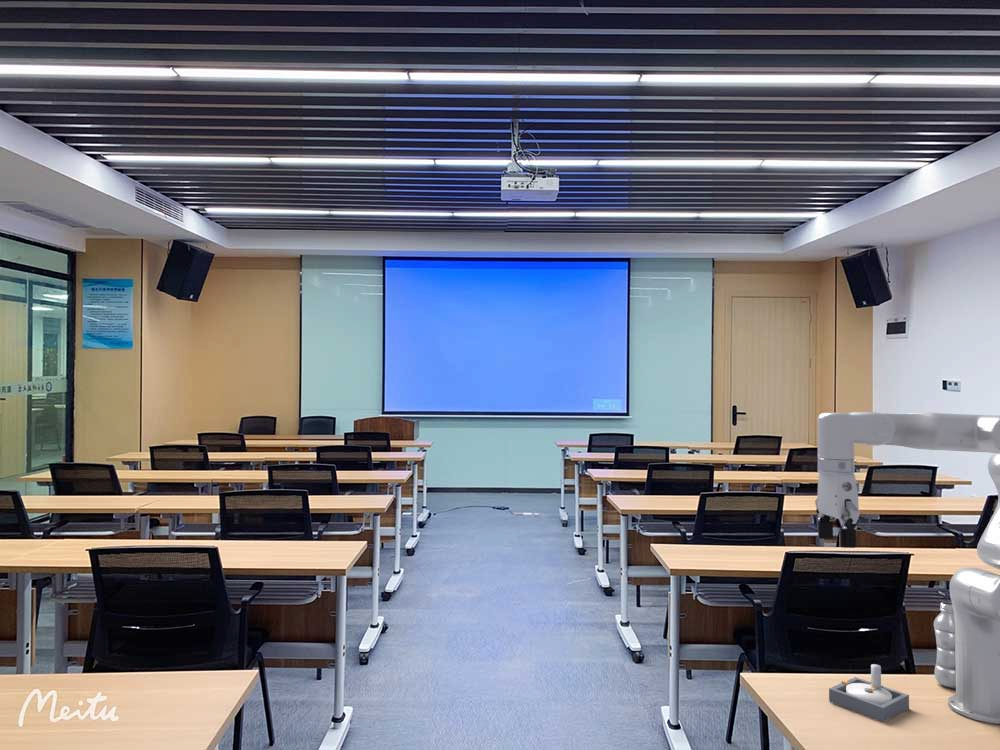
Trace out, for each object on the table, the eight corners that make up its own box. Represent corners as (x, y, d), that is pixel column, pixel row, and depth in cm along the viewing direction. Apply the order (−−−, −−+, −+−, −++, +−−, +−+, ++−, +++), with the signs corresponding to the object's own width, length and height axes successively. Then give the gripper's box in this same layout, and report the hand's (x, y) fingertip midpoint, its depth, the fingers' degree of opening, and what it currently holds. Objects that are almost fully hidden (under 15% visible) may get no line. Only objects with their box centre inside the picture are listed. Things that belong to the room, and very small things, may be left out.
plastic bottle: (972, 693, 162) (971, 608, 162) (941, 690, 163) (939, 606, 164) (959, 682, 168) (958, 601, 169) (929, 679, 169) (928, 599, 170)
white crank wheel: (879, 711, 148) (879, 680, 148) (838, 696, 155) (838, 666, 156) (899, 701, 153) (899, 671, 153) (858, 687, 161) (858, 658, 161)
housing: (855, 689, 162) (855, 675, 163) (909, 708, 153) (908, 692, 153) (829, 701, 155) (829, 686, 156) (883, 722, 146) (883, 705, 146)
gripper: (873, 470, 145) (874, 551, 144) (832, 463, 162) (833, 535, 161) (839, 470, 145) (839, 550, 144) (801, 463, 162) (802, 535, 161)
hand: (836, 542), depth 153 cm, fingers open, 9 cm apart
